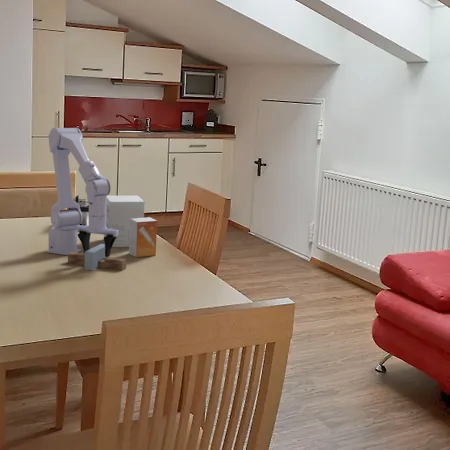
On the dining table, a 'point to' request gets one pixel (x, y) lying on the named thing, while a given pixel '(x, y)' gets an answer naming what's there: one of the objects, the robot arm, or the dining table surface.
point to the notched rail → (104, 263)
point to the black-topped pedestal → (83, 210)
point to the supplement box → (123, 216)
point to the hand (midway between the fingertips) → (96, 254)
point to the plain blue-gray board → (94, 257)
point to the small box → (142, 237)
